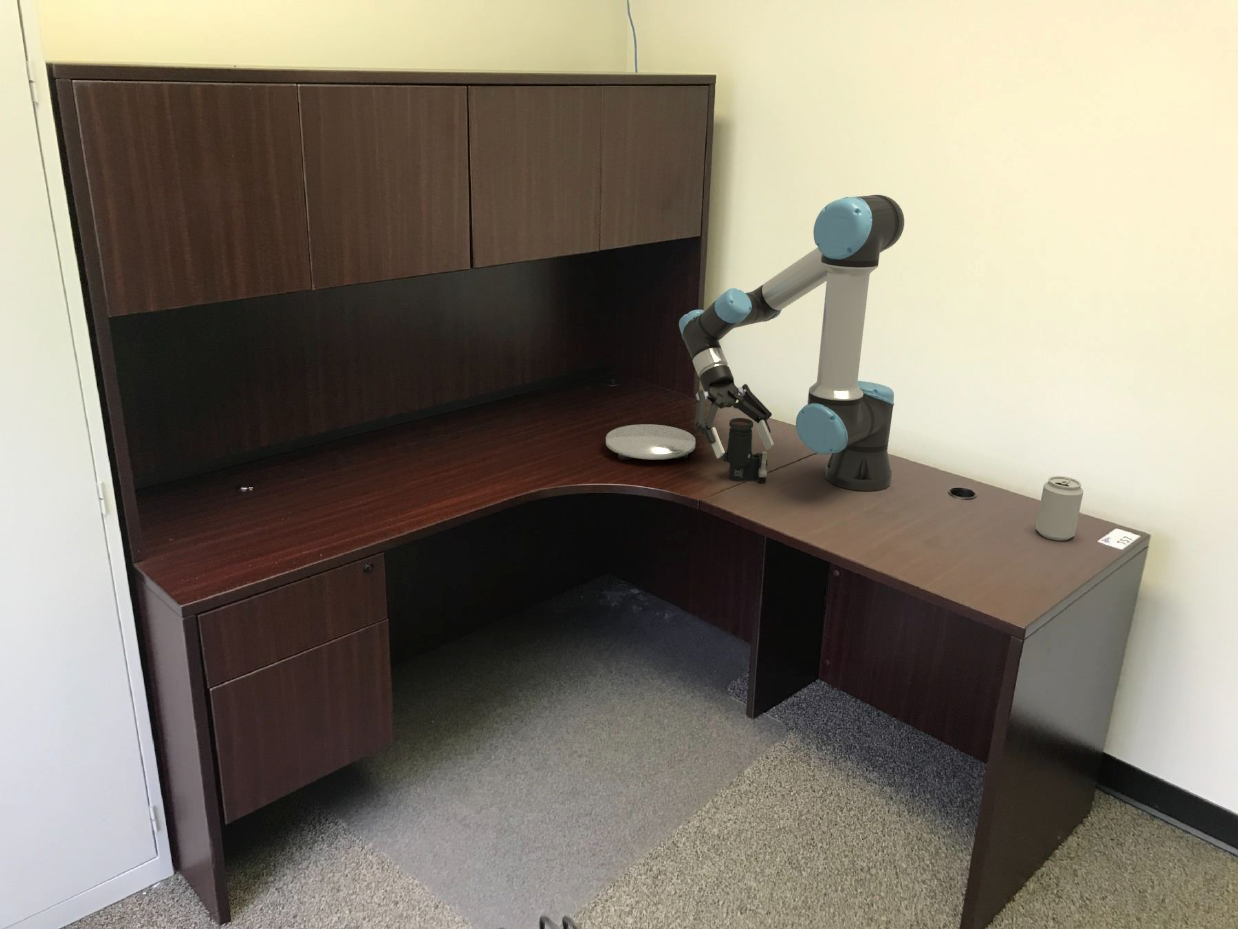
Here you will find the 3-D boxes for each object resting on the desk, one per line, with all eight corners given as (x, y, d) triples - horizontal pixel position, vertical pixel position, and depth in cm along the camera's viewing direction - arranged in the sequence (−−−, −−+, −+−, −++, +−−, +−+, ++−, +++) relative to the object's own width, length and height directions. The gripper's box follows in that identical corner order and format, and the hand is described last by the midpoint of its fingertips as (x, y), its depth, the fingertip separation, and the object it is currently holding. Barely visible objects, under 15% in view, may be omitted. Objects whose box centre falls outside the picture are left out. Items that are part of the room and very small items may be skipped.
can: (1028, 533, 209) (1038, 479, 205) (1044, 524, 214) (1054, 471, 210) (1064, 545, 204) (1075, 490, 200) (1080, 535, 209) (1091, 481, 205)
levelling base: (713, 455, 248) (714, 442, 247) (644, 473, 235) (644, 459, 234) (655, 431, 264) (655, 419, 263) (587, 447, 251) (588, 434, 250)
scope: (771, 427, 226) (727, 427, 226) (766, 484, 231) (723, 484, 230) (764, 416, 234) (721, 415, 233) (760, 472, 239) (718, 471, 238)
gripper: (749, 374, 247) (781, 451, 240) (661, 385, 236) (692, 466, 229) (764, 358, 241) (797, 436, 234) (674, 368, 230) (706, 451, 223)
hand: (745, 451), depth 231 cm, fingers open, 13 cm apart
